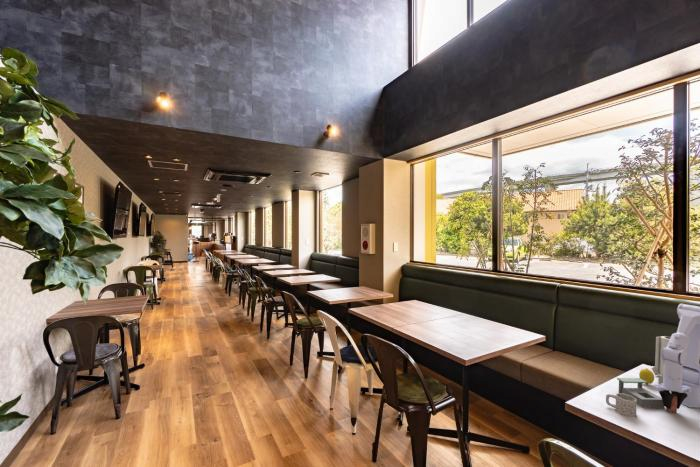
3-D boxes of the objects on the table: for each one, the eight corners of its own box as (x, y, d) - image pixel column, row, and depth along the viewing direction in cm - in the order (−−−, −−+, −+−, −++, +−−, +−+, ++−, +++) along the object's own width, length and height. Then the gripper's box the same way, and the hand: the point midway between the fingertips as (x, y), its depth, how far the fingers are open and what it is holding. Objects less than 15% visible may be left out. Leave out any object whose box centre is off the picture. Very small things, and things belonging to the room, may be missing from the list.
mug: (636, 412, 134) (637, 397, 134) (635, 419, 130) (636, 403, 130) (606, 403, 142) (607, 388, 141) (604, 409, 137) (604, 393, 137)
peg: (671, 409, 137) (671, 393, 137) (679, 413, 134) (679, 397, 134) (664, 409, 137) (664, 393, 137) (671, 413, 134) (672, 397, 134)
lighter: (670, 385, 159) (670, 369, 159) (669, 386, 158) (670, 370, 158) (650, 380, 164) (651, 365, 164) (650, 381, 163) (650, 366, 163)
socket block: (639, 392, 151) (639, 378, 151) (665, 407, 139) (666, 391, 139) (616, 392, 151) (616, 377, 151) (640, 407, 139) (641, 391, 139)
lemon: (656, 387, 157) (657, 371, 156) (643, 386, 158) (644, 370, 158) (648, 382, 162) (649, 366, 162) (636, 381, 163) (636, 365, 163)
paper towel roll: (677, 378, 166) (678, 338, 166) (673, 381, 163) (674, 340, 163) (658, 373, 173) (660, 334, 172) (654, 375, 170) (656, 336, 169)
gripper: (665, 380, 131) (664, 412, 132) (699, 381, 132) (698, 413, 132) (649, 372, 138) (648, 403, 139) (681, 373, 139) (680, 403, 139)
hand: (671, 407), depth 136 cm, fingers closed on peg, 3 cm apart
